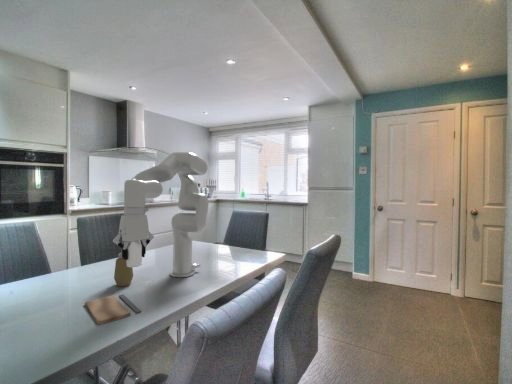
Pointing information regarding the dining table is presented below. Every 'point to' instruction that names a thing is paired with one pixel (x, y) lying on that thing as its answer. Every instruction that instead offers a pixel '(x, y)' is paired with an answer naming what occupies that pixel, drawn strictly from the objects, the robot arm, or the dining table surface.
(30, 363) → the dining table surface
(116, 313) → the board
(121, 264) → the squeeze bottle
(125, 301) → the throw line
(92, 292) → the dining table surface
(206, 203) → the robot arm
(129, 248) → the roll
